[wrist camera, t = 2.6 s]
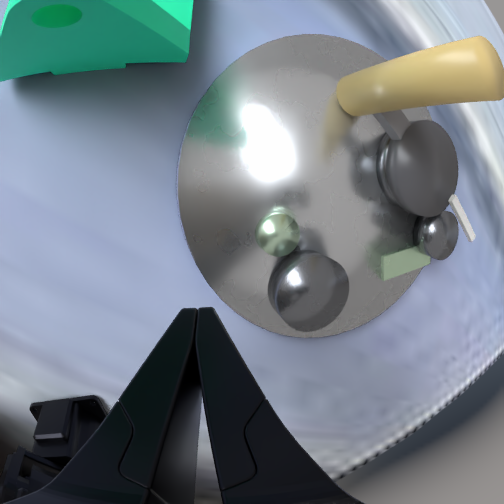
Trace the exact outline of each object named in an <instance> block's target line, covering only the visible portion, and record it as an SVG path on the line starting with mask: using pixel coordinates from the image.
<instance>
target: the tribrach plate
mask: <svg viewBox="0 0 504 504" xmlns="http://www.w3.org/2000/svg"><path fill="white" fill-rule="evenodd" d="M386 61H387V60H386V59H384V58H383V57H381V56H380V55H378V54H377V53H375V52H374V51H372V50H370V49H368V48H366V47H364V46H362V45H360V44H358V43H355V42H352V41H349V40H346V39H343V38H340V37H334V36H329V35H322V34H302V35H294V36H287V37H283V38H280V39H276V40H273V41H270V42H267V43H265V44H263V45H261V46H259V47H257V48H255V49H253V50H251V51H249V52H247V53H246V54H244V55H243V56H241V57H240V58H239V59H237V60H236V61H235V62H233V63H232V64H231V65H230V66H229V67H228V68H227V69H226V70H225V71H224V72H223V73H222V74H221V75H220V76H219V77H218V78H217V79H216V80H215V81H214V82H213V84H212V85H211V86H210V88H209V89H208V90H207V92H206V93H205V95H204V96H203V97H202V99H201V100H200V102H199V103H198V105H197V107H196V109H195V111H194V113H193V115H192V117H191V119H190V121H189V123H188V126H187V129H186V132H185V135H184V138H183V141H182V144H181V148H180V154H179V160H178V165H177V183H176V195H177V204H178V212H179V218H180V222H181V226H182V230H183V233H184V237H185V240H186V242H187V245H188V247H189V249H190V252H191V254H192V256H193V259H194V261H195V263H196V265H197V266H198V268H199V270H200V271H201V273H202V275H203V276H204V278H205V280H206V281H207V283H208V284H209V285H210V287H211V288H212V289H213V290H214V291H215V293H216V294H217V295H218V296H219V297H220V299H221V300H222V301H223V302H225V303H226V304H227V305H228V306H229V307H230V308H231V309H233V310H234V311H235V312H236V313H237V314H239V315H240V316H242V317H243V318H245V319H246V320H248V321H250V322H251V323H253V324H255V325H257V326H259V327H262V328H264V329H266V330H268V331H271V332H275V333H278V334H282V335H286V336H293V337H301V338H314V337H325V336H331V335H337V334H340V333H343V332H346V331H349V330H352V329H355V328H357V327H359V326H361V325H363V324H365V323H367V322H369V321H371V320H372V319H374V318H375V317H377V316H379V315H380V314H381V313H383V312H384V311H385V310H386V309H388V308H389V307H390V306H391V305H393V304H394V303H395V302H396V301H397V300H398V299H399V298H400V297H401V296H402V295H403V294H404V293H405V291H406V290H407V289H408V288H409V286H410V285H411V284H412V283H413V281H414V280H415V279H416V277H417V275H418V274H419V272H420V271H421V269H422V268H423V266H426V265H428V264H430V257H432V258H435V259H438V260H444V259H446V258H447V257H448V256H449V255H450V254H451V253H452V251H453V250H454V248H455V245H456V243H457V239H458V222H457V219H456V217H455V216H454V214H453V213H451V212H448V211H443V212H441V213H440V214H438V215H436V216H433V217H424V216H420V215H416V214H411V213H409V212H407V211H405V210H404V209H403V208H402V207H400V205H399V204H398V203H397V202H396V200H395V198H394V197H393V195H392V193H391V190H390V187H389V184H388V180H387V173H386V157H387V151H388V146H389V143H390V141H391V138H390V137H389V135H388V134H387V133H386V131H385V130H384V129H383V127H382V126H381V125H380V123H379V122H378V121H377V120H376V118H375V117H374V116H373V114H370V115H365V116H353V115H350V114H348V113H347V112H346V111H345V110H344V109H343V108H342V107H341V105H340V104H339V102H338V99H337V94H336V88H337V84H338V82H339V81H340V79H341V78H343V77H344V76H347V75H349V74H352V73H355V72H357V71H360V70H363V69H366V68H368V67H371V66H374V65H377V64H380V63H383V62H386ZM402 112H403V113H404V115H405V116H406V118H407V119H408V120H409V121H417V120H430V121H432V118H431V116H430V114H429V111H428V110H427V108H426V106H425V107H417V108H409V109H402Z"/></svg>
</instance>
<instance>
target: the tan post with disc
mask: <svg viewBox="0 0 504 504" xmlns="http://www.w3.org/2000/svg"><path fill="white" fill-rule="evenodd" d="M336 94H337V99H338V102H339V104H340V105H341V107H342V108H343V109H344V110H345V111H346V112H347V113H348V114H350V115H353V116H365V115H370V114H373V116H374V117H375V118H376V120H377V121H378V122H379V123H380V125H381V126H382V127H383V129H384V130H385V131H386V133H387V134H388V135H389V137H390V138H391V141H390V143H389V146H388V151H387V157H386V173H387V180H388V184H389V187H390V190H391V193H392V195H393V197H394V198H395V200H396V202H397V203H398V204H399V205H400V207H402V208H403V209H404V210H405V211H407V212H409V213H411V214H416V215H420V216H424V217H433V216H436V215H438V214H440V213H441V212H443V211H444V210H445V209H446V207H447V206H448V205H449V203H450V205H451V207H452V209H453V211H454V213H455V215H456V217H457V219H458V221H459V223H460V225H461V226H462V229H463V231H464V233H465V235H466V237H467V239H468V241H469V242H473V240H474V238H475V233H474V231H473V229H472V227H471V225H470V223H469V220H468V218H467V216H466V214H465V212H464V210H463V208H462V206H461V204H460V202H459V200H458V198H457V196H456V195H454V193H455V190H456V186H457V180H458V161H457V155H456V151H455V148H454V145H453V142H452V140H451V138H450V137H449V135H448V133H447V132H446V131H445V130H444V129H443V128H442V127H441V126H440V125H439V124H437V123H436V122H434V121H430V120H417V121H409V120H408V119H407V118H406V116H405V115H404V113H403V112H402V109H409V108H417V107H425V106H434V105H443V104H453V103H465V102H478V101H496V100H502V99H503V98H504V68H503V65H502V62H501V60H500V57H499V55H498V53H497V52H496V50H495V48H494V47H493V45H492V44H491V43H490V42H489V41H488V40H487V39H486V38H484V37H482V36H476V37H472V38H467V39H463V40H459V41H455V42H450V43H447V44H443V45H439V46H435V47H432V48H428V49H424V50H421V51H418V52H414V53H411V54H408V55H404V56H401V57H398V58H395V59H392V60H389V61H386V62H383V63H380V64H377V65H374V66H371V67H368V68H366V69H363V70H360V71H357V72H355V73H352V74H349V75H347V76H344V77H343V78H341V79H340V81H339V82H338V84H337V88H336Z"/></svg>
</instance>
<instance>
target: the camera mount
mask: <svg viewBox="0 0 504 504" xmlns="http://www.w3.org/2000/svg"><path fill="white" fill-rule="evenodd" d="M192 10H193V0H9V3H8V6H7V9H6V12H5V16H4V19H3V23H2V26H1V30H0V82H1V81H5V80H9V79H14V78H18V77H23V76H28V75H33V74H38V73H44V72H50V71H51V72H52V73H53V74H54V75H60V74H67V73H75V72H83V71H93V70H104V69H118V68H126V63H148V62H183V63H186V60H187V57H188V55H189V44H190V31H191V20H192Z"/></svg>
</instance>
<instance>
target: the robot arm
mask: <svg viewBox="0 0 504 504" xmlns="http://www.w3.org/2000/svg"><path fill="white" fill-rule="evenodd" d="M202 397H203V403H204V409H205V415H206V421H207V427H208V432H209V438H210V443H211V448H212V454H213V459H214V464H215V469H216V474H217V478H218V483H219V488H220V491H221V497H222V501H223V504H365V503H363V502H361V501H359V500H357V499H356V498H354V497H352V496H351V495H349V494H348V493H347V492H345V491H344V490H343V489H342V488H341V487H339V486H338V485H337V484H336V483H335V482H334V481H333V480H332V479H331V478H330V477H329V476H328V475H327V474H326V473H325V472H324V471H323V470H322V468H321V467H320V466H319V465H318V464H317V463H316V462H315V461H314V460H313V459H312V458H311V457H310V455H309V454H308V453H307V452H306V451H305V450H304V449H303V448H302V447H301V445H300V444H299V443H298V442H297V441H296V440H295V438H294V437H293V436H292V435H291V433H290V432H289V431H288V430H287V428H286V427H285V426H284V424H283V423H282V421H281V420H280V419H279V417H278V416H277V414H276V413H275V411H274V410H273V408H272V406H271V405H270V403H269V402H268V400H267V399H266V397H265V395H264V394H263V392H262V390H261V389H260V387H259V385H258V384H257V382H256V380H255V379H254V377H253V375H252V374H251V372H250V370H249V369H248V367H247V365H246V364H245V362H244V360H243V358H242V357H241V355H240V353H239V352H238V350H237V348H236V346H235V345H234V343H233V341H232V339H231V338H230V336H229V334H228V332H227V331H226V329H225V327H224V325H223V323H222V322H221V320H220V318H219V316H218V314H217V313H216V311H215V309H214V308H213V307H202V308H199V309H198V310H197V309H196V308H183V309H181V310H180V312H179V313H178V315H177V316H176V317H175V319H174V320H173V322H172V323H171V325H170V326H169V327H168V329H167V330H166V332H165V333H164V334H163V336H162V337H161V339H160V340H159V342H158V343H157V344H156V346H155V347H154V349H153V350H152V352H151V353H150V354H149V356H148V357H147V359H146V360H145V362H144V363H143V364H142V366H141V367H140V369H139V370H138V372H137V373H136V375H135V376H134V377H133V379H132V380H131V382H130V383H129V385H128V386H127V388H126V389H125V391H124V392H123V393H122V395H121V396H120V398H119V402H118V401H117V402H116V403H115V405H114V406H113V408H112V409H111V411H110V412H109V414H108V415H107V413H106V411H105V409H104V408H103V406H102V404H101V402H100V400H99V399H98V397H96V396H94V395H90V396H84V397H77V398H68V399H60V400H52V401H45V402H38V403H32V404H31V405H30V411H31V413H32V414H33V416H34V418H35V419H36V421H37V426H36V429H35V433H34V436H33V438H34V439H35V442H34V446H33V450H32V452H29V451H27V450H26V448H24V447H21V446H18V449H17V452H16V453H15V452H14V453H13V454H12V455H8V456H7V460H6V463H5V467H4V470H3V473H2V475H1V477H0V504H194V493H195V478H196V464H197V450H198V438H199V426H200V414H201V403H202ZM91 401H94V402H95V403H93V402H91ZM34 408H35V409H34ZM36 409H37V410H36Z"/></svg>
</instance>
